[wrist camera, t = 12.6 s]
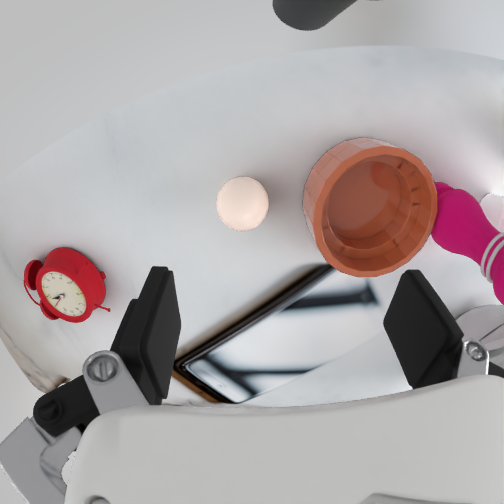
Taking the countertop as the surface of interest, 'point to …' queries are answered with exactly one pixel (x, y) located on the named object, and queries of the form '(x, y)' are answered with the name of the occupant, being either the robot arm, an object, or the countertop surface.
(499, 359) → the decorative bowl
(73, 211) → the countertop surface
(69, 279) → the alarm clock
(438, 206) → the pepper mill
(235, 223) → the egg
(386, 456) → the robot arm
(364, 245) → the bowl
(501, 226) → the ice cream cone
